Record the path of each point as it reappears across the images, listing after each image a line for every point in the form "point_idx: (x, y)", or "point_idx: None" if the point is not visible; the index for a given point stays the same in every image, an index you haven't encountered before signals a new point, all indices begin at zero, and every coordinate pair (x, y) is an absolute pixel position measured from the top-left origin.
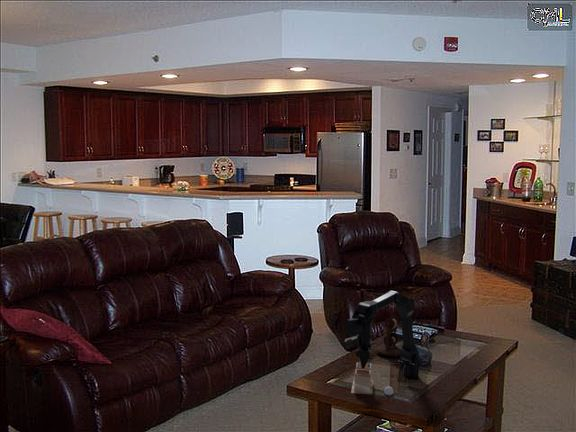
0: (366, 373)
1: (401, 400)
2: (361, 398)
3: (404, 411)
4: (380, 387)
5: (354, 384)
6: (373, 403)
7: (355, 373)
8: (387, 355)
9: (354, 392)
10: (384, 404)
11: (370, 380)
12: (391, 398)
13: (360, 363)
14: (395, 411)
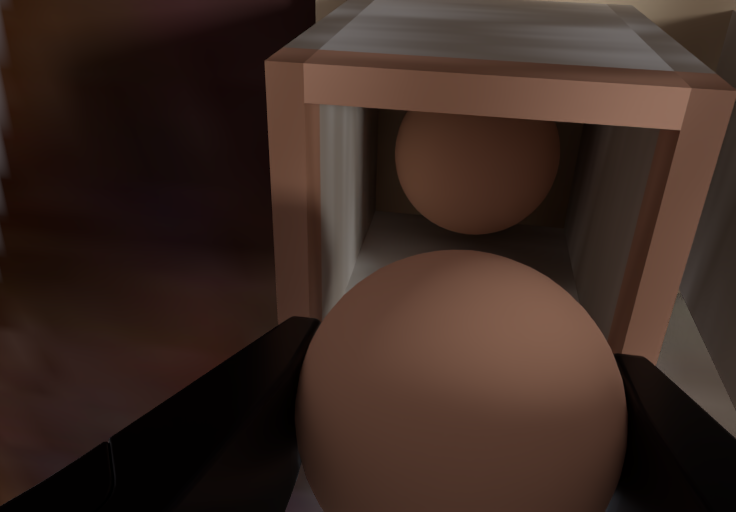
0: (604, 320)
1: (289, 500)
2: (209, 105)
3: (41, 478)
4: (669, 369)
5: (330, 16)
6: (105, 243)
7: (310, 82)
8: None
9: (330, 2)
10: (126, 348)
11: (692, 302)
12: None
13: (333, 368)
14: (4, 415)
